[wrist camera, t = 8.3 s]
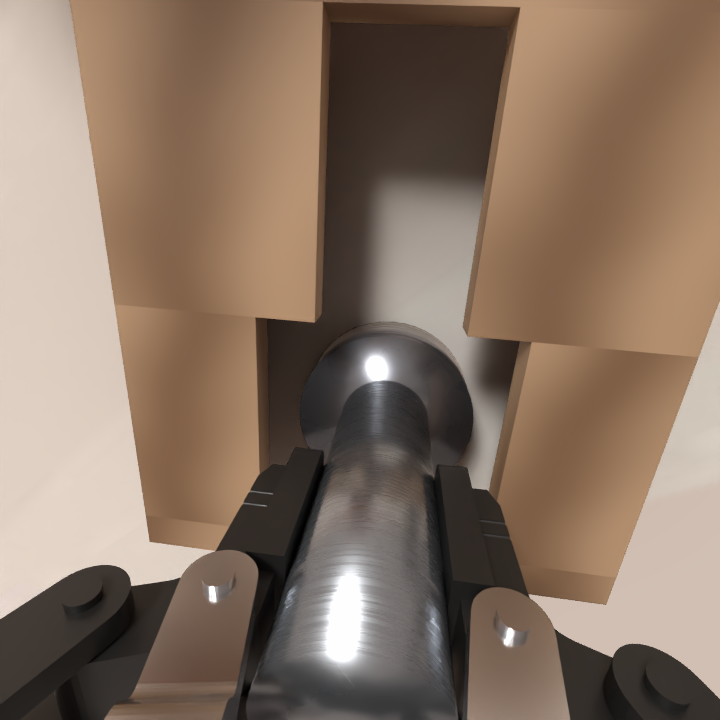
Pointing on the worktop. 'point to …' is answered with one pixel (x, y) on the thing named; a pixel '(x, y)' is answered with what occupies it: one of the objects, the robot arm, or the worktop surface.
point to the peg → (370, 538)
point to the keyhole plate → (491, 256)
